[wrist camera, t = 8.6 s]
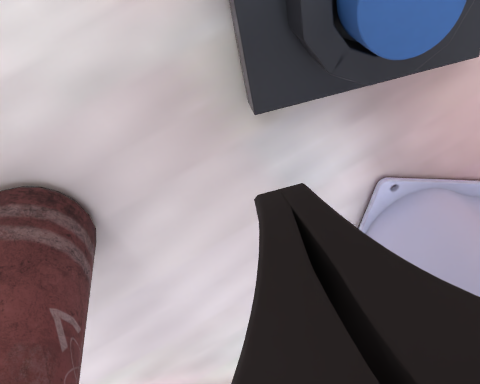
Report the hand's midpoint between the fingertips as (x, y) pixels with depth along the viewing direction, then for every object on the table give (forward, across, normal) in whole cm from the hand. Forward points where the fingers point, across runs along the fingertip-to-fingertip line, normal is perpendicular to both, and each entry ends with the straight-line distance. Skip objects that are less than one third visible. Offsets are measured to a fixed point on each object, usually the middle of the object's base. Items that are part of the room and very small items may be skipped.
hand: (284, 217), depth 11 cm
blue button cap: (+7, -6, -3) cm, 10 cm away
